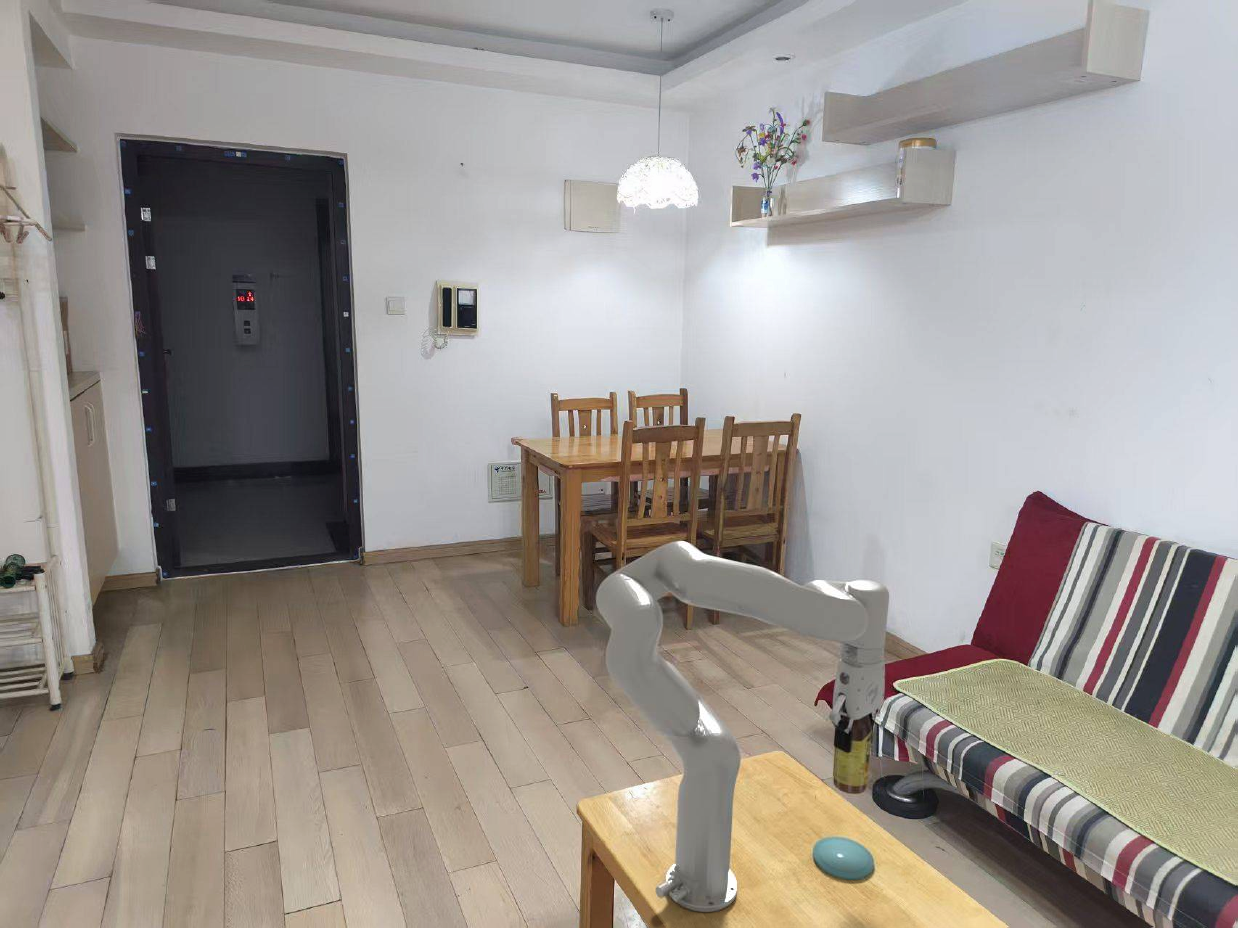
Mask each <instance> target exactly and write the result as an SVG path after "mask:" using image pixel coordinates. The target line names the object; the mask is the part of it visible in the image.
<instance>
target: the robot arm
mask: <svg viewBox="0 0 1238 928" xmlns="http://www.w3.org/2000/svg"><path fill="white" fill-rule="evenodd" d="M669 593H671V595H673V596H674V598H677V600H679V601H680V602H683V603H684V604H687V605H690V606H693V607H698V608H703V609H708V610H714V611H720V612H724V613H729V614H734V615H739V616H742V617H743V616H745V617H749V618H753V619H756V620H759V621H760V622H763V623H766V624H769V625H772V626H775V627H778V628H782V629H785V630H787V631H790V632H793V633H797V634H800V635H803V636H806V637H811V638H814V639H818V640H824V641H829V642H833V643H834V642H835V643H839V653H838V656H839V658H840V659H839V661H838V665H837V669H836V675H835V680H834V681H835V682H834V687H833V696H832V709H831V711H830V713H829V715H828V719H829V721H831V723H832V725H833V728H834V735H833V737H834V738H833V739H834V740H833V746H834V748H835V747H836V748H838V749H840V750H842V751H844V752H846V753H849V752H851V744H852V733H853V732H851V731H850V730H851V727H852V724H853V720H858V719H860V718H862V717H864V716H866V715H869V719H870V722H871V726H872V734H871V740H872V739H873V735H874V724H875V718H876V717H877V711H876V710H878V709H880V708H881V707H882V706H883V704H884V700H885V699H884V698H885V689H886V688H885V685H886V682H885V681H886V667H885V666H886V665H885V657H884V655H885V646H886V645H885V643H886V636H887V635H886V633H887V625H888V623H887V622H888V614H889V606H890V605H889V603H890V592H889V589H888V588H887V587H886V586H885V585H884V584H882V583H879V582H876V581H873V580H867V579H857V580H852V581H848V582H847V581H836V580H826V579H820V580H819V579H817V580H816V579H815V580H811V581H809V582H806V583H805V584H803V585H800V584H798V583H796V582H793V581H792V580H790V579H788V578H786V577H785V576H783V575H781V574H779V573H778V572H775V571H773V570H770V569H768V568H765V567H763V566H758V565H754V564H750V563H745V562H739V561H735V560H731V559H726V558H723V557H720V556H719V557H718V556H714V555H709V554H706V553H704V552H703V551H701V550H699V549H698V548H697V547H696V546H694V544H692V543H690V542H687V541H683V540H676V541H671V542H669V543H666V544H663V545H660V546H658V547H657V548H655V549H653V550H651V551H649V552H647V553H646V554H644V555H642V556H641V557H638V558H637V559H635V560H633V561H632V562H630V563H628V564H627V565H625V566H623V567H620V569H618V570H616V571H614V572H612V573H611V574H609V575H608V576H606V578H605V579H603V581H602V582H601V584H600V585H599V587H598V589H597V590H596V595H595V601H596V602H595V603H596V607H597V610H598V612H599V613H600V614H599V615H601V617H602V618H603V620H604V621H605V622H606V624H607V625H608V626H609V628H610V637H609V640H608V642H607V646H606V652H605V666H606V669H607V672H608V674H609V676H610V678H611V679H612V680H613V682H614V683H615V685H617V687H618V688H619V689H620V690H621V691H622V692H623V694H624V695H625V696H626V697H627V698H628V700H629V701H630V702H631V704H633V705H634V707H636V709H637V710H638V711H639V713H640V714H641V715H642V717H643V719H644V720H645V721H646V722H647V723H648V724H649V725H650V726H651V727H652V729H654V730H655V731H656V732H658V733H659V734H661V735H663V736H665V737H666V739H667V740H668V741H669V744H671V746H672V748H673V749H674V750H675V751H676V753H677V755H678V757H679V758H680V760H681V762H682V764H683V775H682V777H681V780H680V784H679V787H678V791H677V816H676V817H677V818H676V836H675V837H676V839H675V859H674V861H675V862H674V864H672V866H671V867H669V869H668V871H667V872H666V876H665V882H663V883H661V884H659V885H657V886H656V887H655V893H656V895H657V897H658V898H659V899H663V898H665V897H666V896H668V895H669V897H670V898H671V899H672V900H673V901H674V902H675V903H676V904H678V905H680V906H682V907H683V908H685V909H688V910H691V911H694V912H700V913H709V912H718V911H721V910H722V909H725V908H726V907H728V906H730V905H731V904H732V903H733V901H735V898H736V897H737V893H738V882H737V879H736V876H735V875H734V873H733V872H732V871H731V869H730V863H731V851H732V850H731V848H732V847H731V846H732V845H731V844H732V832H733V830H732V828H733V815H734V814H733V813H734V812H733V811H734V796H735V788H736V787H735V786H736V782H737V778H738V774H739V770H740V766H741V761H742V754H741V748H740V746H739V743H738V741H737V739H736V737H735V736H734V734H733V732H732V731H731V730H730V728H729V727H728V726H727V725H726V724H725V722H724V721H722V719H721V718H720V717H719V716H718V715H717V713H716V712H715V711H714V709H712V707H711V706H710V705H709V704H708V703H707V701H706V700H704V698H703V697H702V696H701V695H700V693H698V692H697V690H696V689H695V688H694V687H693V685H691V683H690V682H689V681H688V680H687V679H686V678H685V677H684V676H683V674H682V673H681V672H680V670H679V669H678V668H677V667H676V666H675V665H674V664H672V663H671V662H669V661H668V660H666V659H664V657H663V656H662V655H661V653H659V651H658V646H659V641H660V638H661V635H662V631H663V627H664V626H663V625H664V615H663V612H662V611H663V610H662V607H661V606H660V604H659V602H658V600H660V599H661V598H663V597H664V596H666V595H668V594H669ZM844 708H845V709H846V710H847V713H846V712H844V711H843V710H844ZM842 716H845V717H847V718H848V720H847V723H845V722H844V721H843V720H841V719H842Z"/></svg>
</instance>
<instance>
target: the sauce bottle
mask: <svg viewBox="0 0 1238 928" xmlns="http://www.w3.org/2000/svg"><path fill="white" fill-rule="evenodd" d="M843 711H844V712H846V713H847V710H846V709H845V708H844V710H843ZM841 720H843V721H844V722H845V723H847V720H848V718H847V717H845V716H842V719H841ZM850 731H851V732H853V733H852V744H851V752H849V753H846V752H844V751H842V750H840V749H838V748H836V747H834V750H833V751H834V753H833V769H832V776H833V778H832V781H833V785H834V786H835V788H837V789H838V790H839V791H841V792H842V793H846V794H851V795H858V794H859V795H860V794H862V793H864V792H865V791H866V789H867V783H868V782H869V772H870V771H869V770H870V759H871V747H872V746H871V745H872V739H871V734H872V726H871V722H870V719H869V715H866V716H864V717H862V718H860V719H858V720H853V724H852V727H851V730H850Z"/></svg>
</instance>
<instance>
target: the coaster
mask: <svg viewBox="0 0 1238 928" xmlns="http://www.w3.org/2000/svg"><path fill="white" fill-rule="evenodd" d="M812 858H813V860H814V863H815V864H816V865H817V867H819V869H821V870H822V871H823V872H825V873H826V874H828V875H830V876H833V877H835V878H837V879H841V880H846V881H847V880H848V881H855V880H856V881H857V880H862V879H865V878H867V877H868V876H870V875H871V873H872V872H873V870H874V867H875V866H874V865H875V860H874V857H873V855H872V853H871V852H870V850H869V849H868V848H866V847H865V846H864V845H862V844H861V843H859V842H858V841H855V840H853V839H851V838H846V837H842V836H828V837H824V838H822V839H819V840H818V841H816V843H815V844H814V846H813V848H812Z"/></svg>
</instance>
